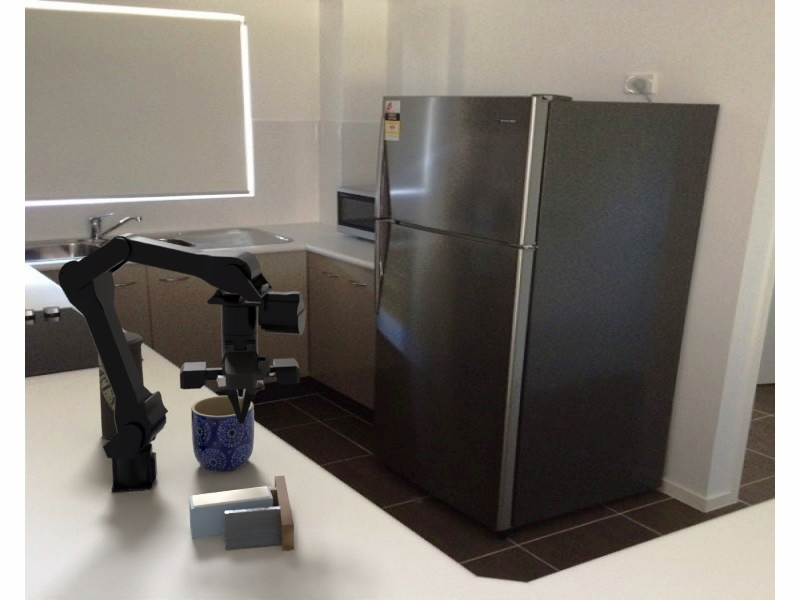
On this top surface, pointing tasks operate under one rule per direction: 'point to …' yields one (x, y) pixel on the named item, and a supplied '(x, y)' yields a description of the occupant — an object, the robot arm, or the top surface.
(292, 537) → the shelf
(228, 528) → the bookend
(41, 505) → the top surface
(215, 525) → the book
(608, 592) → the top surface
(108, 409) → the container
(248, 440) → the planter
